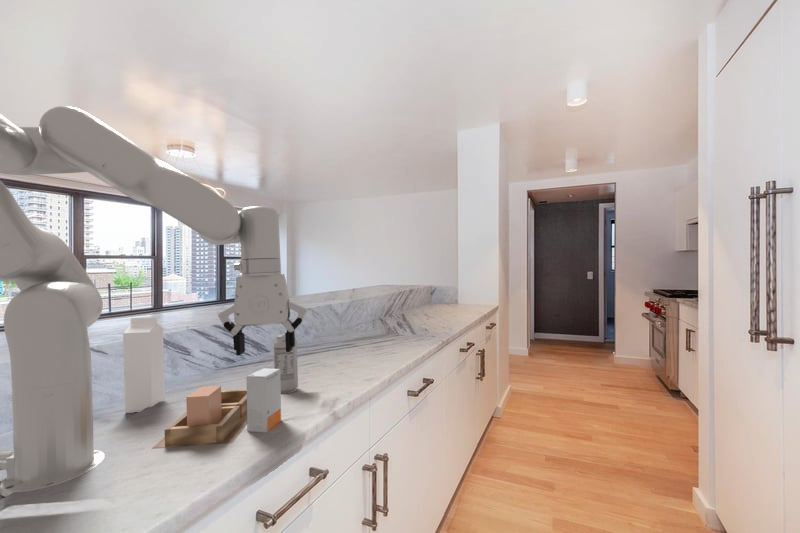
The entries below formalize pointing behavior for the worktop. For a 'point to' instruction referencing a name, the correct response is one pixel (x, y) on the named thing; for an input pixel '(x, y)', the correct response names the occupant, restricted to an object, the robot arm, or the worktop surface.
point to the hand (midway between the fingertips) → (265, 352)
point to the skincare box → (263, 400)
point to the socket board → (213, 433)
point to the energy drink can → (286, 364)
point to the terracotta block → (204, 406)
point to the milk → (143, 364)
